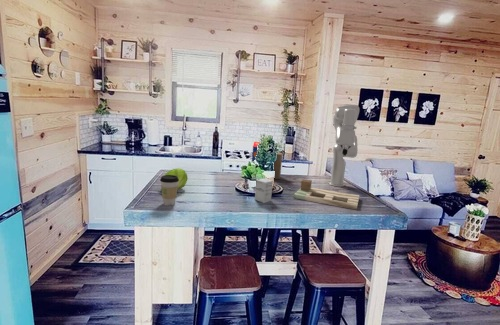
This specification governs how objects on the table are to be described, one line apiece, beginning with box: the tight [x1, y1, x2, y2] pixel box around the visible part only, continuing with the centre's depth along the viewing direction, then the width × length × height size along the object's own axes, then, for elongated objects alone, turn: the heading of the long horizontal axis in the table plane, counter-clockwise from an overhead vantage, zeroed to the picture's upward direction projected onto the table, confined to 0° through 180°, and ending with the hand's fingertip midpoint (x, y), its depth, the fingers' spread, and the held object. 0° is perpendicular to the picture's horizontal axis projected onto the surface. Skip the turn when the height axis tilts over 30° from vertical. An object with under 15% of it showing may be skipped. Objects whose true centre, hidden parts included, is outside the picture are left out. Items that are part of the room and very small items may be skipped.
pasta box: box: [251, 141, 260, 162], centre depth 223 cm, size 28×8×28 cm, turn 178°
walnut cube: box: [300, 178, 312, 191], centre depth 203 cm, size 6×6×6 cm
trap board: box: [293, 186, 360, 210], centre depth 194 cm, size 24×38×2 cm, turn 67°
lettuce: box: [164, 168, 189, 190], centre depth 190 cm, size 15×20×14 cm
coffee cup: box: [159, 174, 179, 206], centre depth 164 cm, size 10×10×15 cm
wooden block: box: [274, 151, 283, 180], centre depth 239 cm, size 10×10×20 cm
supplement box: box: [254, 177, 274, 204], centre depth 180 cm, size 7×7×13 cm
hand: (344, 155), depth 203 cm, fingers closed
